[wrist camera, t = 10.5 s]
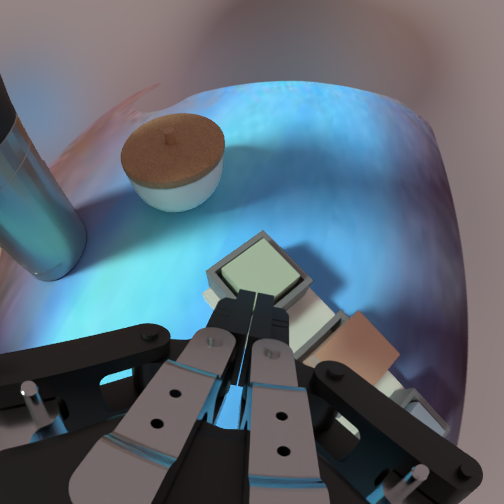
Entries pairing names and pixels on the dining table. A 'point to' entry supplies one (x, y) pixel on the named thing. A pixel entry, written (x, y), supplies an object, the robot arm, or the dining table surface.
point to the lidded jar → (175, 161)
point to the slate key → (424, 416)
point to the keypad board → (310, 325)
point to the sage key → (260, 272)
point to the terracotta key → (357, 349)
